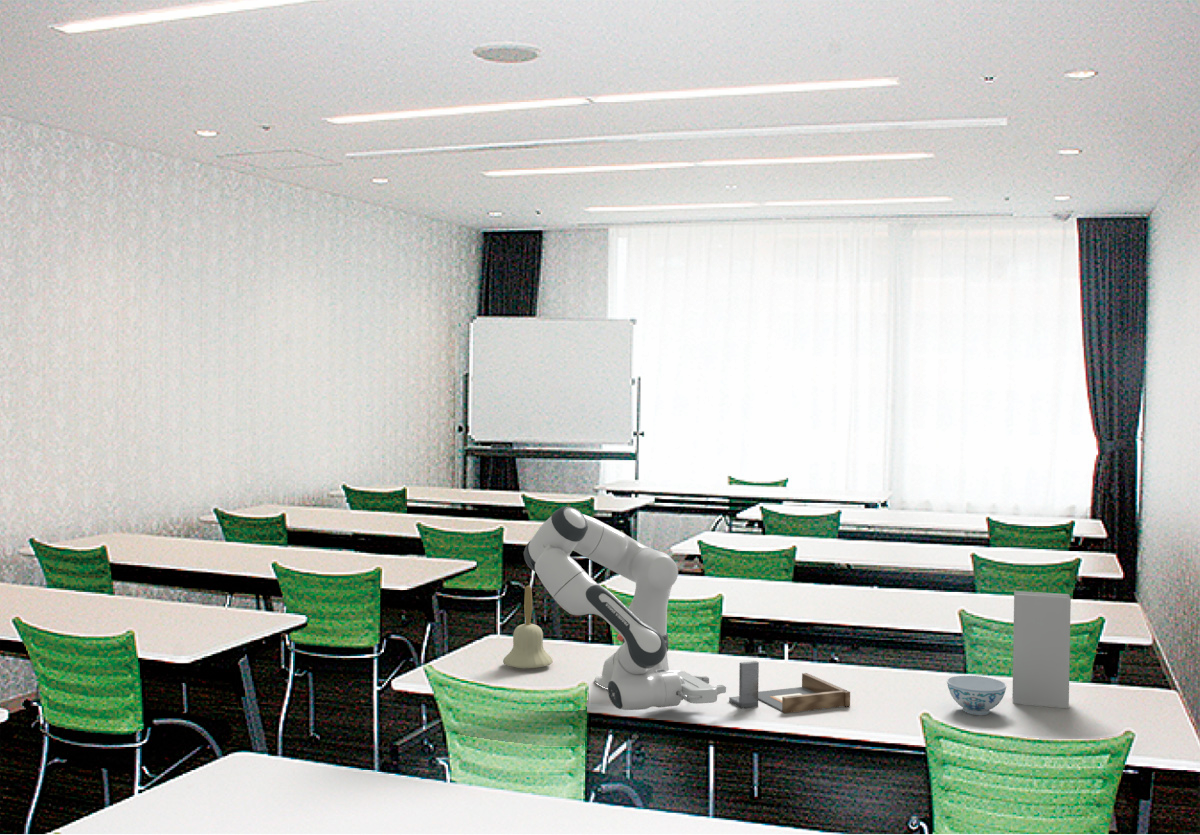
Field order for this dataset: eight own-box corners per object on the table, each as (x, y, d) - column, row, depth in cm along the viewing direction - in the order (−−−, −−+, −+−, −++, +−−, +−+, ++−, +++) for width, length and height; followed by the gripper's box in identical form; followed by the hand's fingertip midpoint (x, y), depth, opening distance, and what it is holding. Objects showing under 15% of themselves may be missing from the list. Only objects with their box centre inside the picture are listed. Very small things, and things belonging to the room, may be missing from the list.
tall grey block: (1067, 703, 306) (1069, 594, 305) (1069, 708, 301) (1070, 597, 300) (1012, 698, 310) (1014, 590, 310) (1012, 703, 305) (1014, 594, 305)
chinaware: (963, 700, 308) (963, 672, 308) (1015, 711, 297) (1016, 683, 297) (936, 711, 297) (936, 682, 297) (989, 723, 287) (990, 693, 287)
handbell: (492, 666, 342) (493, 584, 342) (531, 658, 352) (531, 579, 352) (524, 675, 331) (524, 591, 330) (563, 667, 341) (563, 586, 341)
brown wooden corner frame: (786, 714, 293) (786, 699, 293) (746, 693, 313) (746, 679, 313) (850, 706, 301) (850, 691, 301) (806, 686, 321) (806, 673, 321)
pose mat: (781, 711, 296) (781, 709, 296) (747, 694, 312) (747, 692, 312) (839, 704, 302) (839, 703, 302) (803, 688, 319) (803, 686, 319)
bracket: (758, 706, 300) (758, 662, 300) (741, 708, 298) (742, 663, 298) (745, 699, 307) (745, 656, 306) (729, 701, 305) (729, 658, 304)
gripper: (687, 686, 281) (735, 682, 286) (653, 668, 300) (699, 663, 305) (686, 711, 281) (735, 706, 286) (652, 691, 300) (698, 686, 305)
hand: (716, 684), depth 296 cm, fingers open, 8 cm apart
